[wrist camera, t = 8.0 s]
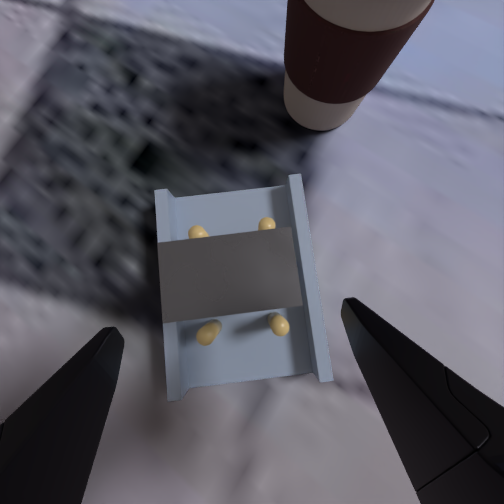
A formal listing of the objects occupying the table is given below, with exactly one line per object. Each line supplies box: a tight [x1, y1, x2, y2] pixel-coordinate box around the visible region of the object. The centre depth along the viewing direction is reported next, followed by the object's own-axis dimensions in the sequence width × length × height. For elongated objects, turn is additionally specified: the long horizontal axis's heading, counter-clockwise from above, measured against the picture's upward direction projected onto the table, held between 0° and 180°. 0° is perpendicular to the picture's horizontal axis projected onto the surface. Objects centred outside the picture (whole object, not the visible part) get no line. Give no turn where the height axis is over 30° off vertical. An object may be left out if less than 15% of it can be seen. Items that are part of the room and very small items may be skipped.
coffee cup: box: [284, 0, 434, 131], centre depth 17 cm, size 10×10×15 cm
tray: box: [155, 174, 334, 402], centre depth 19 cm, size 16×12×5 cm
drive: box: [157, 227, 303, 323], centre depth 15 cm, size 4×6×10 cm, turn 97°
